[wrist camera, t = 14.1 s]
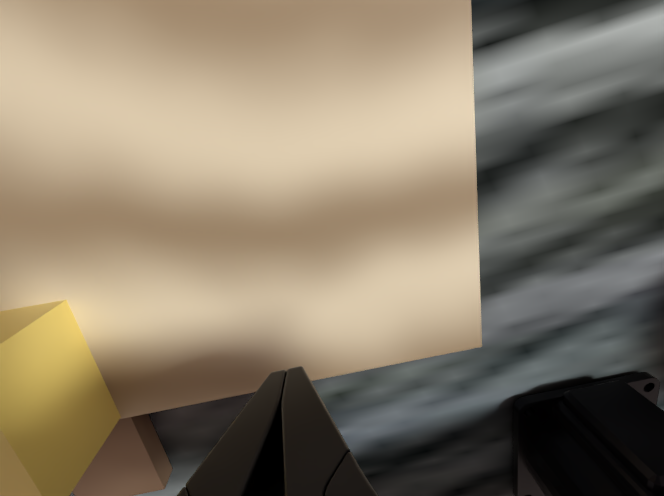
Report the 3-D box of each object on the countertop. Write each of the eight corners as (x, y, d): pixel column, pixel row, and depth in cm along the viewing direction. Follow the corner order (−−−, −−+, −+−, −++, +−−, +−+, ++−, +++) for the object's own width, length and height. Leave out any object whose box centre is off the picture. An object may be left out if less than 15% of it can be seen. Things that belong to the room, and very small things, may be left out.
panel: (473, 407, 15) (484, 425, 14) (-107, 525, 15) (-135, 552, 14) (441, -299, 8) (459, -356, 7) (-685, -125, 7) (-827, -163, 7)
